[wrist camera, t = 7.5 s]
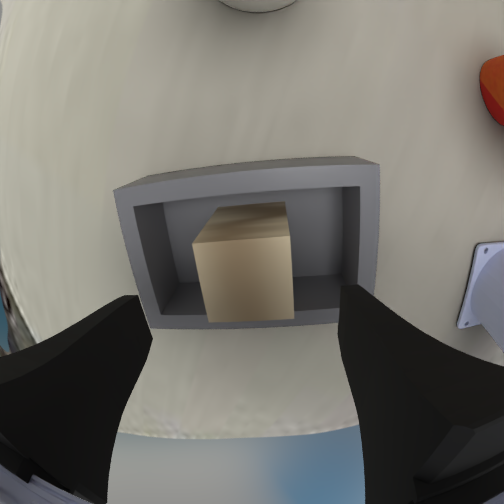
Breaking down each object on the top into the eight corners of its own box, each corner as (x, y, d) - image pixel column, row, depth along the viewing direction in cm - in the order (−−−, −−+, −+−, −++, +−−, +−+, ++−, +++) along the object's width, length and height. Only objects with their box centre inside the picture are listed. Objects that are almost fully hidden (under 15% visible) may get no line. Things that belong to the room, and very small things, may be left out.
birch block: (284, 201, 17) (290, 235, 11) (289, 262, 18) (294, 318, 13) (218, 207, 17) (192, 243, 12) (227, 267, 19) (208, 322, 13)
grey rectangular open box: (354, 156, 16) (379, 164, 12) (353, 281, 19) (370, 319, 15) (147, 175, 17) (113, 190, 13) (172, 291, 21) (150, 328, 17)
